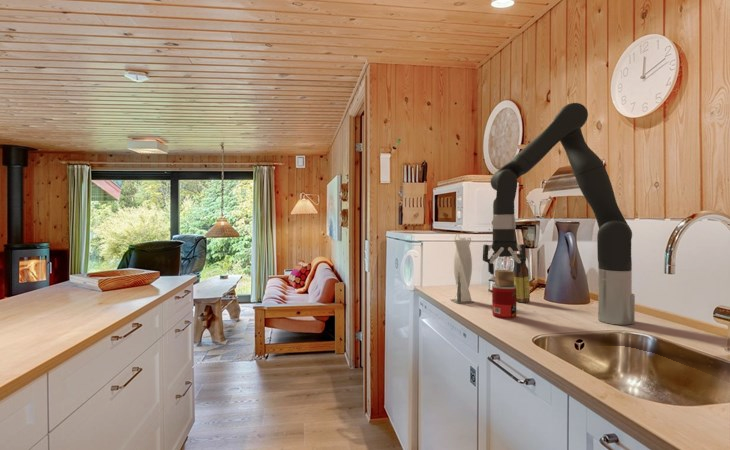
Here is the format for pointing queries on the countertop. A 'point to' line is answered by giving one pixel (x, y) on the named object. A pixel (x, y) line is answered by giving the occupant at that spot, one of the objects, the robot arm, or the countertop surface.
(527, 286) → the sauce bottle
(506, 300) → the canned food
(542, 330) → the countertop surface
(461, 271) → the skyscraper
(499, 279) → the walnut cube
